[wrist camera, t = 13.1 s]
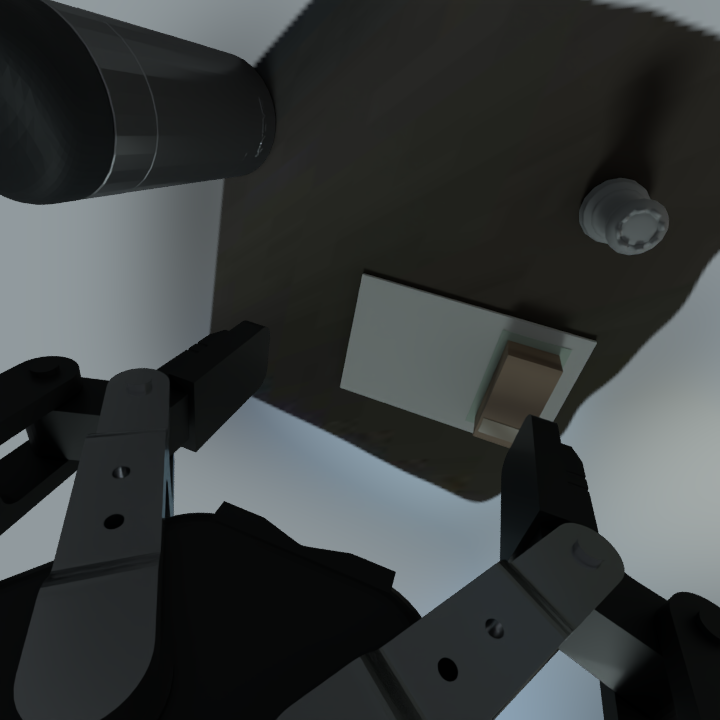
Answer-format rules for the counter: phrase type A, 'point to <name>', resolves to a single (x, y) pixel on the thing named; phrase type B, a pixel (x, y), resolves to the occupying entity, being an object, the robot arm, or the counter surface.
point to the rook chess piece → (623, 216)
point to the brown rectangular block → (516, 392)
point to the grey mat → (443, 352)
